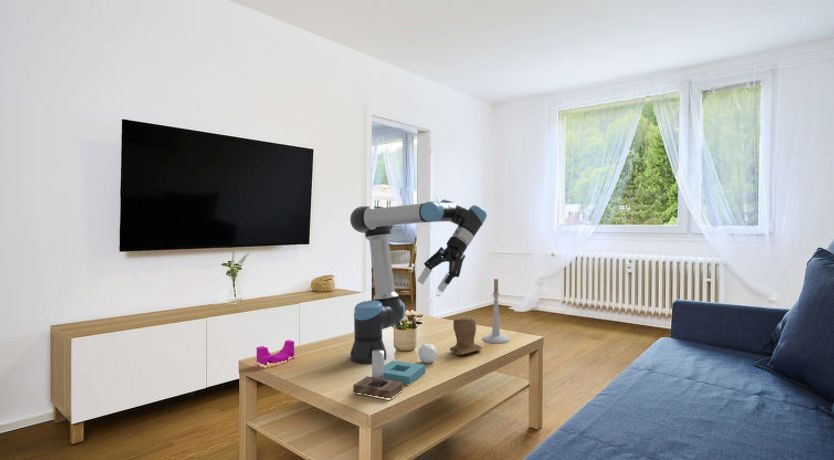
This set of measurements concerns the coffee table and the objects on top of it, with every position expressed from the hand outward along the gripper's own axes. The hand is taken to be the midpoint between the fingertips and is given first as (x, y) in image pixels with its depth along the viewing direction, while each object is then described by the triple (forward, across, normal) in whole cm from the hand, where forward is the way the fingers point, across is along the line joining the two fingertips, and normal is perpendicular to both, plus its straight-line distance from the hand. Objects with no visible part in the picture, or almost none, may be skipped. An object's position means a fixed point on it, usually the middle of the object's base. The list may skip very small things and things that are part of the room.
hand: (429, 286), depth 168 cm
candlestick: (-5, -20, +65) cm, 68 cm away
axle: (+41, +8, +1) cm, 41 cm away
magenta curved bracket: (+57, -42, -12) cm, 72 cm away
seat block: (+33, -1, +13) cm, 35 cm away
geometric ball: (+23, -9, +27) cm, 36 cm away
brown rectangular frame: (+41, +8, +1) cm, 41 cm away
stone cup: (+10, -13, +44) cm, 47 cm away
